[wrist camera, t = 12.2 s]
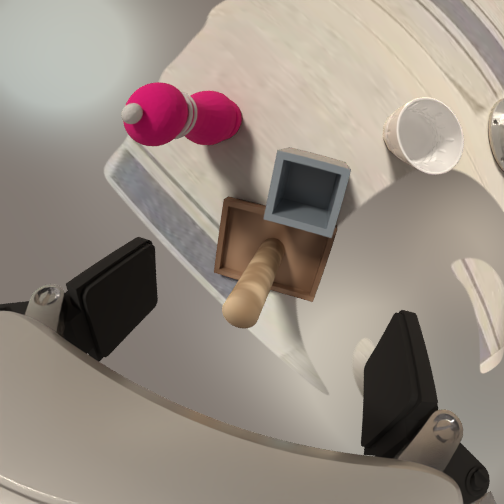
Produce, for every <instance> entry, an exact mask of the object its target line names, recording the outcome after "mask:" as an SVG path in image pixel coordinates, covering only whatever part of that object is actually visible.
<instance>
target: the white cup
mask: <svg viewBox="0 0 504 504" xmlns="http://www.w3.org/2000/svg"><path fill="white" fill-rule="evenodd" d="M383 139H384V141H385V143H386V145H387V148H388V149H389V150H390V151H391V152H392V153H393V154H394V155H395V156H396V157H398V158H399V159H401V160H402V161H404V162H405V163H407V164H409V165H411V166H412V167H414V168H416V169H418V170H420V171H422V172H424V173H427V174H433V175H438V174H443V173H446V172H448V171H450V170H451V169H453V168H454V167H455V166H456V164H457V163H458V162H459V160H460V158H461V156H462V153H463V148H464V135H463V130H462V127H461V124H460V122H459V120H458V118H457V117H456V115H455V114H454V112H453V111H452V110H451V109H450V108H449V107H448V106H447V105H445V104H444V103H442V102H441V101H439V100H436V99H434V98H429V97H421V98H416V99H414V100H412V101H410V102H408V103H407V104H405V105H403V106H402V107H400V108H399V109H397V110H396V111H394V112H393V113H392V115H390V116H389V117H388V118H387V120H386V122H385V124H384V126H383Z"/></svg>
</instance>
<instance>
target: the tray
mask: <svg viewBox="0 0 504 504" xmlns="http://www.w3.org/2000/svg"><path fill="white" fill-rule="evenodd" d="M265 209H266V206H265V205H261V204H257V203H253V202H249V201H245V200H240V199H236V198H232V197H227V198H225V199H224V202H223V209H222V216H221V223H220V230H219V237H218V244H217V252H216V260H215V268H214V273H218V274H221V275H224V276H227V277H230V278H234V279H237V280H239V279H240V278H241V276H242V274H243V273H244V271H245V270H246V268H247V266H248V265H249V263H250V262H251V260H252V259H253V257H254V255H255V254H256V252H257V251H258V249H259V247H260V246H261V244H262V243H263V241H264V240H266V239H268V238H276V239H278V240H280V241H281V242H282V243H283V245H284V247H285V253H284V256H283V259H282V261H281V264H280V266H279V269H278V271H277V274H276V276H275V279H274V281H273V284H272V286H271V289H270V290H273V291H277V292H280V293H283V294H287V295H290V296H294V297H297V298H301V299H304V300H308V301H311V302H313V300H314V297H315V294H316V291H317V289H318V286H319V283H320V280H321V277H322V275H323V272H324V269H325V266H326V263H327V260H328V257H329V254H330V251H331V248H332V245H333V241H334V238H335V235H336V232H337V225H335V228H334V232H333V235H332V238H329V237H326V236H322V235H319V234H315V233H312V232H308V231H305V230H301V229H297V228H294V227H290V226H287V225H283V224H279V223H276V222H272V221H268V220H264V219H263V218H264V214H265Z"/></svg>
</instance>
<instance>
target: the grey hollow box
mask: <svg viewBox="0 0 504 504" xmlns="http://www.w3.org/2000/svg"><path fill="white" fill-rule="evenodd" d="M350 172H351V169H350V168H349V166H348V165H347V164H346V162H343V161H340V160H337V159H333V158H329V157H326V156H322V155H318V154H314V153H311V152H307V151H302V150H298V149H294V148H290V147H289V148H285V149H281V150H277V155H276V160H275V165H274V170H273V174H272V179H271V184H270V189H269V194H268V199H267V204H266V209H265V214H264V218H263V219H264V220H268V221H272V222H276V223H279V224H283V225H287V226H290V227H294V228H297V229H301V230H305V231H308V232H312V233H315V234H319V235H322V236H326V237H329V238H332V235H333V232H334V228H335V225H336V222H337V218H338V215H339V212H340V208H341V205H342V201H343V198H344V194H345V190H346V187H347V183H348V179H349V175H350Z"/></svg>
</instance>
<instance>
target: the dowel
mask: <svg viewBox="0 0 504 504" xmlns="http://www.w3.org/2000/svg"><path fill="white" fill-rule="evenodd" d="M284 253H285V247H284V245H283V243H282V242H281V241H280V240H278V239H276V238H268V239H266V240H264V241H263V243H262V244H261V246H260V247H259V249H258V251H257V252H256V254H255V255H254V257H253V259H252V260H251V262H250V263H249V265H248V266H247V268H246V270H245V271H244V273H243V274H242V276H241V278H240V279H239V281H238V282H237V284H236V286H235V287H234V289H233V290H232V292H231V293H230V295H229V297H228V298H227V300H226V301H225V303H224V305H223V308H222V312H223V315H224V317H225V319H226V320H227V321H228V322H229V323H230V324H232V325H233V326H235V327H238V328H250V327H252V326H254V325H255V324H256V322H257V320H258V318H259V315H260V313H261V311H262V308H263V306H264V303H265V301H266V298H267V296H268V294H269V291H270V289H271V286H272V284H273V281H274V279H275V276H276V274H277V271H278V269H279V266H280V264H281V261H282V259H283V256H284Z"/></svg>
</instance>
